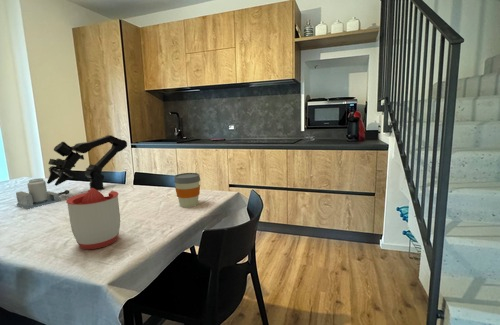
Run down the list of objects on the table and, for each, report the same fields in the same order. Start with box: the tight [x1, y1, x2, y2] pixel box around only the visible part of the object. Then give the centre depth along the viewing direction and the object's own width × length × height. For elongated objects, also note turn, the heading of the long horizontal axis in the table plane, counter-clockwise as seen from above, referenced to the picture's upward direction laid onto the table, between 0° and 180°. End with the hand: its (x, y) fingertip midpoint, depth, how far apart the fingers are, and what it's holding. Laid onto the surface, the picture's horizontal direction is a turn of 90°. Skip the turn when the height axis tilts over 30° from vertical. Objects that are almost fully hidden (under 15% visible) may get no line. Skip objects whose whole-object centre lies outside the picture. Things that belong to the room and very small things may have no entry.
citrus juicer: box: [65, 188, 121, 250], centre depth 94 cm, size 16×17×20 cm
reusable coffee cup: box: [173, 172, 201, 208], centre depth 133 cm, size 13×12×15 cm
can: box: [27, 178, 48, 203], centre depth 142 cm, size 8×8×12 cm
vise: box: [15, 189, 70, 210], centre depth 145 cm, size 22×13×7 cm, turn 148°
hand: (51, 184), depth 147 cm, fingers open, 9 cm apart
